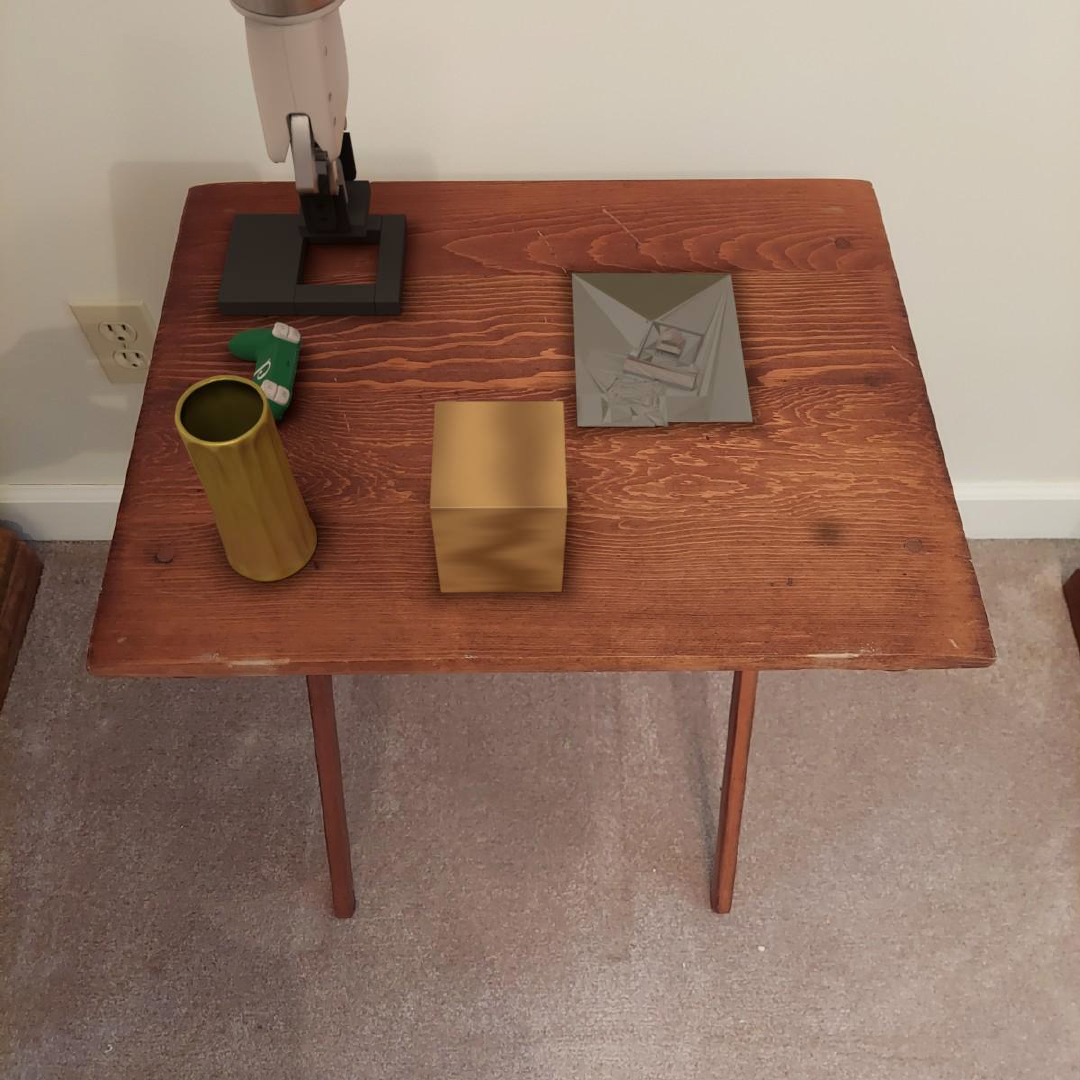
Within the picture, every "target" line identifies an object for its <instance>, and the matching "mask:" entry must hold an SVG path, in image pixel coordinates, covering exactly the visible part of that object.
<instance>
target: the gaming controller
mask: <svg viewBox="0 0 1080 1080" xmlns="http://www.w3.org/2000/svg"><path fill="white" fill-rule="evenodd" d="M302 343H303V338H302V335H301V333H300V331H298V330H297V329H296V328H294V327H293V326H289V325H288V324H285V323H283V322H280V321H279V322H278V321H276V322H275V324H274V326H273V327H265V328H261V327H260V328H252V329H246V330H242V331H240V332H238V333H236V334H234V335H233V337H232V338H231V339H230V340H229V341H228V344H227V348H228V350H229V352H230V353H231V354H232V355H233V356H234V357H236V358H238V359H240V360H242V361H247V362H255V363H256V364H255V368H254V371H253V372H254V373H253V378H252V381H253V382H255V383H256V384H257V385H259V386H260V387H261V388H262V390H263V391H264V393H265V395H266V397H267V400H268V402H269V406H270V409H271V411H272V415H273V418H274V421H275V422H276V421H280V420H281V419H282V418H283V414H284V413H285V412H286V411H287V410H288V407H289V406H290V403H291V401H292V396H293V389H294V383H295V380H296V374H297V369H298V363H299V357H300V352H301V349H302Z"/></svg>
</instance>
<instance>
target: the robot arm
mask: <svg viewBox="0 0 1080 1080" xmlns="http://www.w3.org/2000/svg"><path fill="white" fill-rule="evenodd" d="M345 1H346V0H229V2H230V5H231V7H232V8H233V9H234V10H235V11H236V12H237V13H239V14H240V15H241V16H242V17H244V29H245V38H246V46H247V55H248V61H249V67H250V73H251V79H252V85H253V90H254V91H253V92H254V95H255V100H256V105H257V111H258V115H259V121H260V126H261V130H262V134H263V139H264V144H265V148H266V153H267V154H266V155H267V157H268V158H269V159H270V161H271V162H273V163H274V164H279V163H286V161H287V156H288V152H289V148H290V151H291V157H292V163H293V170H294V182H295V191H296V193H297V194H298V197H299V201H300V202H299V203H300V205H301V206H302V211H303V215H304V219H305V223H306V228H307V230H308V232H310V233H348V232H349V231H350V227H351V223H350V218H349V212H348V207H347V202H346V196H345V191H344V186H343V185H340V184H339V183H338V176H337V168H336V159H337V158H339V159H340V161H341V165H342V170H343V175H344V181H353V180H357V175H358V174H357V173H358V172H357V167H356V160H355V155H354V148H353V143H352V137H351V132H350V131H347V130H348V120H347V109H348V108H347V107H348V100H349V99H348V98H349V85H350V84H349V83H350V82H349V81H350V80H349V79H350V77H349V75H350V74H349V64H348V56H347V50H346V49H347V48H346V42H345V36H344V30H343V24H342V19H341V18H342V17H341V13H340V7H341V6H342V5H343V3H344V2H345ZM315 161H325V164H326V171H327V176H326V175H324V174H317V172H316V165H315Z"/></svg>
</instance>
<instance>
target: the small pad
mask: <svg viewBox="0 0 1080 1080" xmlns="http://www.w3.org/2000/svg"><path fill="white" fill-rule="evenodd" d="M315 165H316V172H317V174H324V175H326V176H327V171H326V164H325V161H315ZM336 168H337V176H338V183H339V184H340V185H343V186H344V191H345V196H346V202H347V207H348V212H349V218H350V223H351V227H350V231H349V232H348V233H310V232H308V230H307V228H306V223H305V219H304V215H303V211H302V206H301V204H300V205H299V212H298V214H299V218H298V224H297V226H298V230H299V234H300V237H366V235H367V225H368V215H369V213H370V205H371V194H372V192H371V190H372V189H371V184H370V181H369V180H368V179H366V180H365V179H363V180H362V179H360V180H357V179H355V180H353V181H344V175H343V170H342V165H341V161H340V159H339V158H337V159H336Z"/></svg>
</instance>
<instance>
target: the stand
mask: <svg viewBox="0 0 1080 1080" xmlns="http://www.w3.org/2000/svg"><path fill="white" fill-rule="evenodd" d="M433 409H434V411H433V429H432V449H431V451H432V452H431V471H430V491H429V492H430V493H429V513H430V520H431V528H432V536H433V543H434V550H435V559H436V566H437V574H438V582H439V589H440V590H439V591H440V593H555V592H556V593H561V592H562V591H563V582H564V567H565V566H564V565H565V551H566V536H567V533H566V532H567V521H568V520H567V518H568V488H567V487H568V486H567V456H566V455H567V453H566V432H565V431H566V427H565V403H564V400H563V401H562V400H549V401H548V400H540V401H538V400H532V401H531V400H529V401H525V400H523V401H521V400H520V401H519V400H518V401H515V400H513V401H512V400H511V401H508V400H505V401H503V400H501V401H500V400H499V401H495V400H493V401H492V400H491V401H490V400H489V401H486V400H485V401H484V400H483V401H481V400H480V401H475V400H474V401H434V408H433Z"/></svg>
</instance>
